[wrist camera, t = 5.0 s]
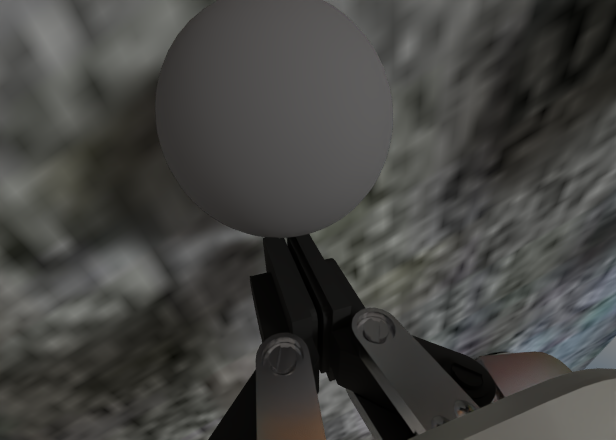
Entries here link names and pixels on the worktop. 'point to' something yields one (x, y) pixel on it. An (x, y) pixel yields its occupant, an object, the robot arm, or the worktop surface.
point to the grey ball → (274, 114)
